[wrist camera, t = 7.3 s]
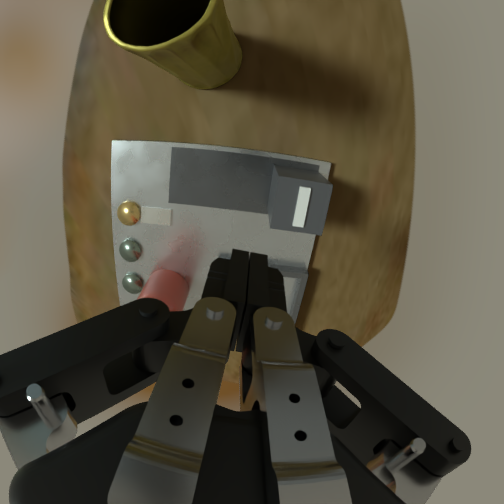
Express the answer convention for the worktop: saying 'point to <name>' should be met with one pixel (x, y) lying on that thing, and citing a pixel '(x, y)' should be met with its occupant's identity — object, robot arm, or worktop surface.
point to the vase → (177, 37)
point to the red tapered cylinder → (166, 289)
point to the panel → (200, 214)
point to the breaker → (298, 200)
